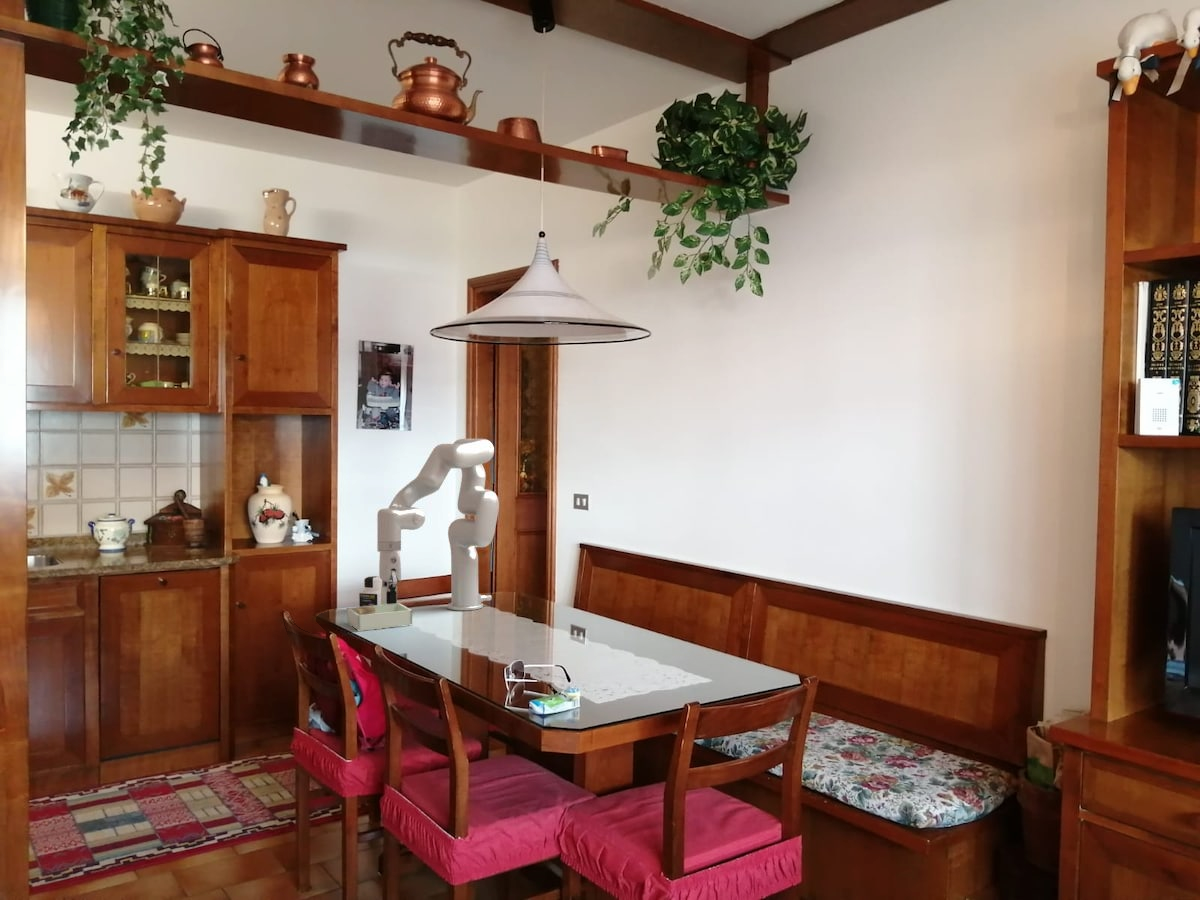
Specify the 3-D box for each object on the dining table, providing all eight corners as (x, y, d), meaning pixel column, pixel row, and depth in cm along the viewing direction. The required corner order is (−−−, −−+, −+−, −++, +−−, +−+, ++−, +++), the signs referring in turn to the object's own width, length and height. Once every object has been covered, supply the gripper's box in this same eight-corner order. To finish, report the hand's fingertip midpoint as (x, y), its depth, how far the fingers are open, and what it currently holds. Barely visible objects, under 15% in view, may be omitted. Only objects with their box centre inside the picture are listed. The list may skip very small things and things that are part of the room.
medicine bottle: (359, 612, 319) (358, 578, 319) (370, 608, 326) (369, 575, 326) (377, 613, 317) (376, 579, 317) (388, 609, 324) (387, 575, 323)
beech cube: (371, 621, 300) (371, 606, 300) (375, 624, 296) (375, 608, 296) (356, 623, 298) (356, 607, 298) (359, 626, 294) (359, 610, 294)
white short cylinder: (394, 601, 304) (394, 585, 304) (398, 604, 299) (398, 587, 299) (379, 602, 301) (379, 586, 301) (383, 605, 297) (383, 588, 297)
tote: (399, 617, 310) (399, 603, 310) (412, 625, 297) (412, 610, 297) (347, 623, 301) (347, 608, 301) (358, 631, 289) (357, 615, 289)
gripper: (408, 548, 295) (408, 605, 295) (393, 543, 309) (393, 597, 310) (384, 549, 291) (384, 607, 291) (371, 544, 306) (371, 599, 306)
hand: (389, 601), depth 300 cm, fingers closed on white short cylinder, 4 cm apart
